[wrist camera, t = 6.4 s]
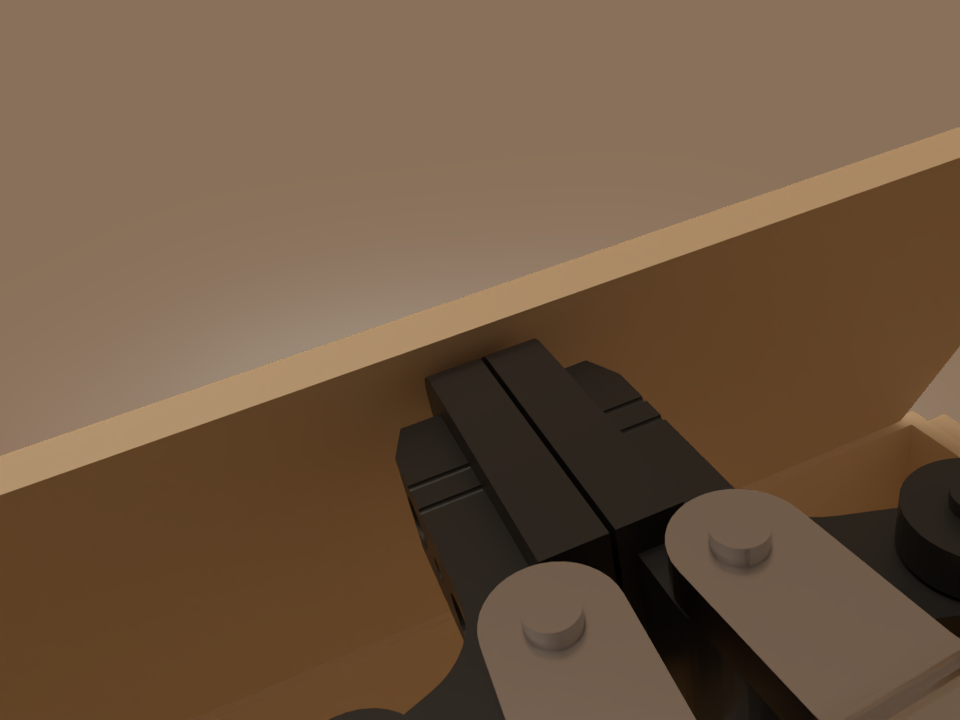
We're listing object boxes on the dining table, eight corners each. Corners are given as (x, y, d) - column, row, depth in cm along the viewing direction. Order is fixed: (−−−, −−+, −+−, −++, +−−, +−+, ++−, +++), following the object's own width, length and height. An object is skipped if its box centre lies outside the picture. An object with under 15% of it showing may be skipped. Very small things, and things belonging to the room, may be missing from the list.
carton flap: (-633, 717, 8) (-615, 657, 8) (-55, 822, 16) (-57, 790, 17) (1165, 85, 12) (1133, 61, 13) (900, 421, 21) (884, 402, 21)
